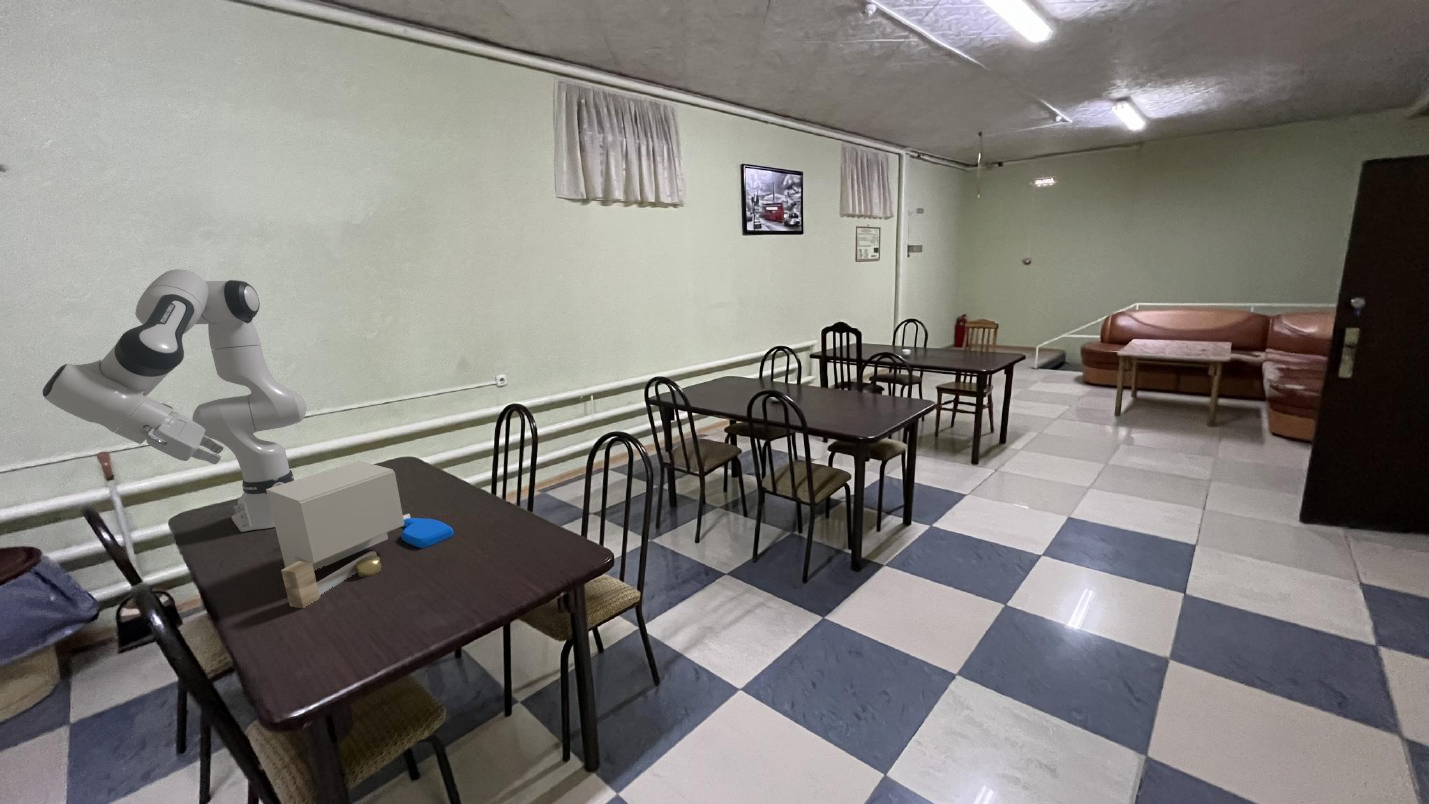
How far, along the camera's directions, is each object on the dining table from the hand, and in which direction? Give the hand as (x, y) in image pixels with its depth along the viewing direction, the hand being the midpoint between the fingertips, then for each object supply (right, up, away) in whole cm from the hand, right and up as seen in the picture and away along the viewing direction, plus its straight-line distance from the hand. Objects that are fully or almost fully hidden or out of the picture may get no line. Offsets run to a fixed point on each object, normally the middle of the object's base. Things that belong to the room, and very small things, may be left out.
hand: (220, 455), depth 126 cm
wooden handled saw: (+20, -31, +9) cm, 38 cm away
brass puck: (+25, -30, +13) cm, 42 cm away
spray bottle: (+26, -25, +34) cm, 50 cm away
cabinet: (+15, -29, +21) cm, 39 cm away
